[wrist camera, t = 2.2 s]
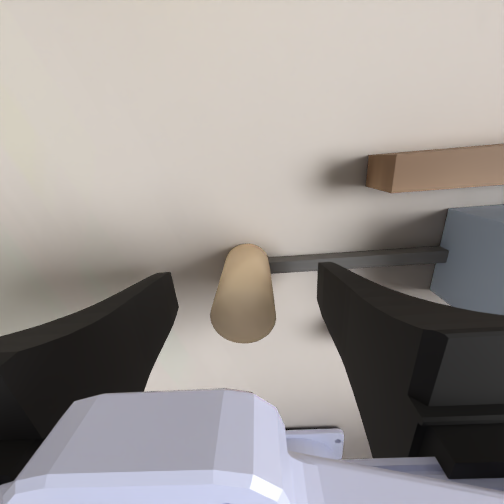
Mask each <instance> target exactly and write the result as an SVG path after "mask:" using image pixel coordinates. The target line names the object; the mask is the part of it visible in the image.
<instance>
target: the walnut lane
mask: <svg viewBox="0 0 504 504" xmlns="http://www.w3.org/2000/svg"><path fill="white" fill-rule="evenodd" d="M491 185H504V144H495V145H483V146H471V147H459V148H447V149H435V150H424V151H412V152H400V153H388V154H376V155H369V157H368V167H367V178H366V187H370V188H374V189H378V190H381V191H385V192H389V193H400V192H413V191H426V190H439V189H452V188H465V187H478V186H491Z"/></svg>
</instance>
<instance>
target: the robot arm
mask: <svg viewBox="0 0 504 504" xmlns="http://www.w3.org/2000/svg"><path fill="white" fill-rule="evenodd" d="M317 301H318V304H319V308H320V311H321V314H322V317H323V319H324V322H325V324H326V326H327V328H328V330H329V333H330V335H331V337H332V339H333V341H334V343H335V346H336V348H337V350H338V352H339V354H340V356H341V359H342V361H343V364H344V366H345V369H346V372H347V375H348V378H349V381H350V384H351V387H352V390H353V393H354V396H355V399H356V403H357V406H358V409H359V412H360V415H361V419H362V422H363V425H364V429H365V432H366V435H367V439H368V442H369V446H370V449H371V453H372V456H373V458H371V459H342V453H343V443H344V434H343V431H342V430H341V429H338V428H335V429H304V430H285V425H284V423H283V421H282V419H281V417H280V414H279V412H278V410H277V408H276V407H275V406H273V405H272V404H270V403H269V402H267V401H265V400H264V399H262V398H260V397H259V396H257V395H256V394H254V393H252V392H247V391H241V390H234V389H227V388H222V389H198V390H174V391H151V392H144V389H145V386H146V383H147V381H148V378H149V375H150V373H151V370H152V368H153V366H154V364H155V362H156V359H157V357H158V355H159V353H160V351H161V349H162V347H163V345H164V343H165V341H166V339H167V337H168V335H169V333H170V331H171V328H172V326H173V324H174V321H175V318H176V315H177V311H178V308H179V306H178V302H177V298H176V294H175V289H174V285H173V281H172V277H171V272H165V273H157V274H154V275H152V276H150V277H148V278H146V279H144V280H142V281H140V282H138V283H136V284H134V285H133V286H131V287H129V288H127V289H125V290H123V291H121V292H119V293H117V294H115V295H113V296H111V297H109V298H107V299H105V300H103V301H101V302H99V303H97V304H95V305H93V306H90V307H88V308H86V309H83V310H81V311H78V312H76V313H73V314H71V315H68V316H65V317H62V318H59V319H57V320H54V321H51V322H48V323H45V324H42V325H39V326H36V327H33V328H29V329H26V330H23V331H19V332H15V333H12V334H8V335H4V336H1V337H0V504H504V315H498V314H491V313H484V312H477V311H472V310H467V309H462V308H457V307H451V306H447V305H443V304H438V303H434V302H430V301H427V300H423V299H419V298H416V297H412V296H409V295H406V294H403V293H400V292H397V291H394V290H391V289H389V288H386V287H384V286H381V285H379V284H377V283H374V282H372V281H370V280H368V279H366V278H363V277H361V276H359V275H357V274H355V273H353V272H351V271H350V270H348V269H346V268H344V267H342V266H340V265H338V264H336V263H333V262H319V263H318V281H317Z"/></svg>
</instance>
